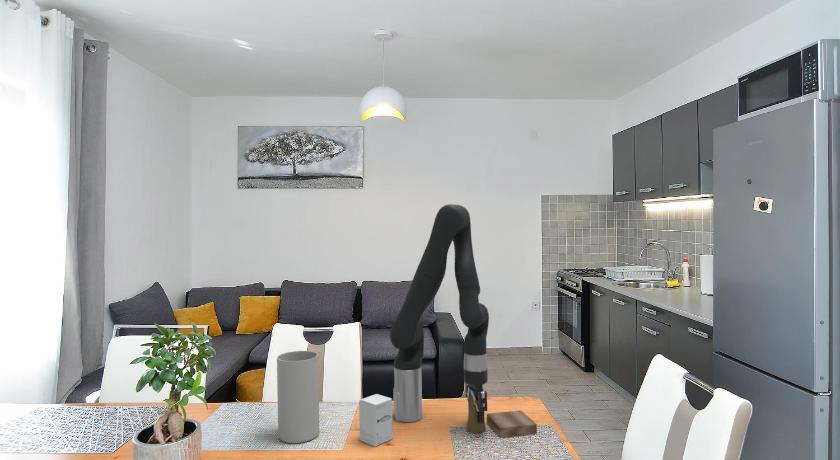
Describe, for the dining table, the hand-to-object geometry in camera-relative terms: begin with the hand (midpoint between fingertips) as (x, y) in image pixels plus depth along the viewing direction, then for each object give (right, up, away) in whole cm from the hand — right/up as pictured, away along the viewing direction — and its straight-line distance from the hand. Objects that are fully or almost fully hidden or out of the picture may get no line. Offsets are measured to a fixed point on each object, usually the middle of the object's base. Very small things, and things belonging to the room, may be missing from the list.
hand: (476, 417), depth 162 cm
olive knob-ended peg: (0, -4, 0) cm, 4 cm away
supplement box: (-31, -4, -7) cm, 32 cm away
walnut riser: (+11, -4, +1) cm, 12 cm away
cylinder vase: (-56, -5, -3) cm, 56 cm away
